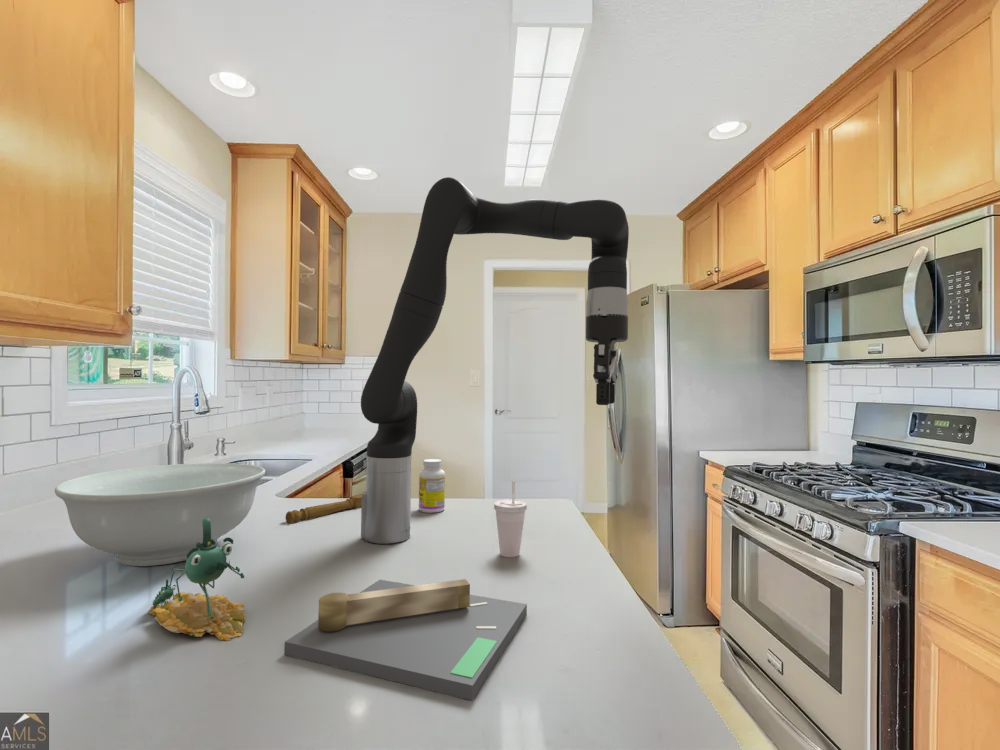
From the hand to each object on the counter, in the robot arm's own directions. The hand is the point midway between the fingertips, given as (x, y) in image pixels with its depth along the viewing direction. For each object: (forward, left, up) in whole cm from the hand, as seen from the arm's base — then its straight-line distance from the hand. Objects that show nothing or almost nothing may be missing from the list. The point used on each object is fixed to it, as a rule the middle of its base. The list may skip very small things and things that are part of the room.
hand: (605, 404), depth 88 cm
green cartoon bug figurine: (-49, -40, -30) cm, 70 cm away
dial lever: (-23, -33, -27) cm, 49 cm away
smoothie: (-18, 0, -29) cm, 34 cm away
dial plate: (-20, -33, -29) cm, 48 cm away
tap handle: (-68, +15, -30) cm, 75 cm away
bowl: (-78, -23, -29) cm, 86 cm away
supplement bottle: (-47, +24, -29) cm, 60 cm away
